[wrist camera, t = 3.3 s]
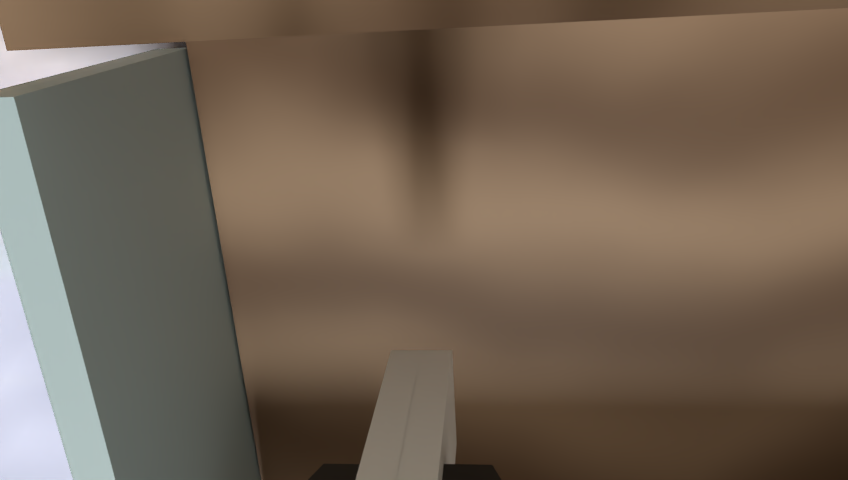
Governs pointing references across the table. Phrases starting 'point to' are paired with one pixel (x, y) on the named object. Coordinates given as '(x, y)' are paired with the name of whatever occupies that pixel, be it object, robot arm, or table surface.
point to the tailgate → (125, 271)
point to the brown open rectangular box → (525, 221)
